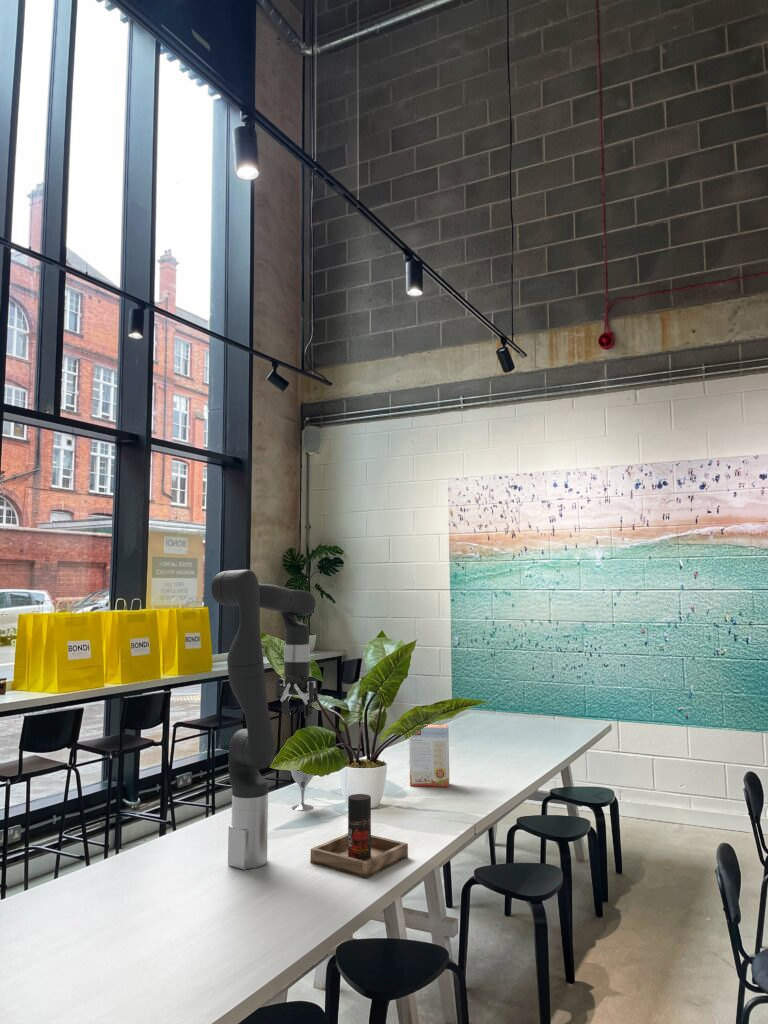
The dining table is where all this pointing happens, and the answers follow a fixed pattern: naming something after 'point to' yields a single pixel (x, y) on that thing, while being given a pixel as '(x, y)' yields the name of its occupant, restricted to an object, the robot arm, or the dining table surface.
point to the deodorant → (359, 826)
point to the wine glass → (302, 788)
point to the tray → (337, 859)
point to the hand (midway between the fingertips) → (296, 716)
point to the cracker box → (430, 756)
